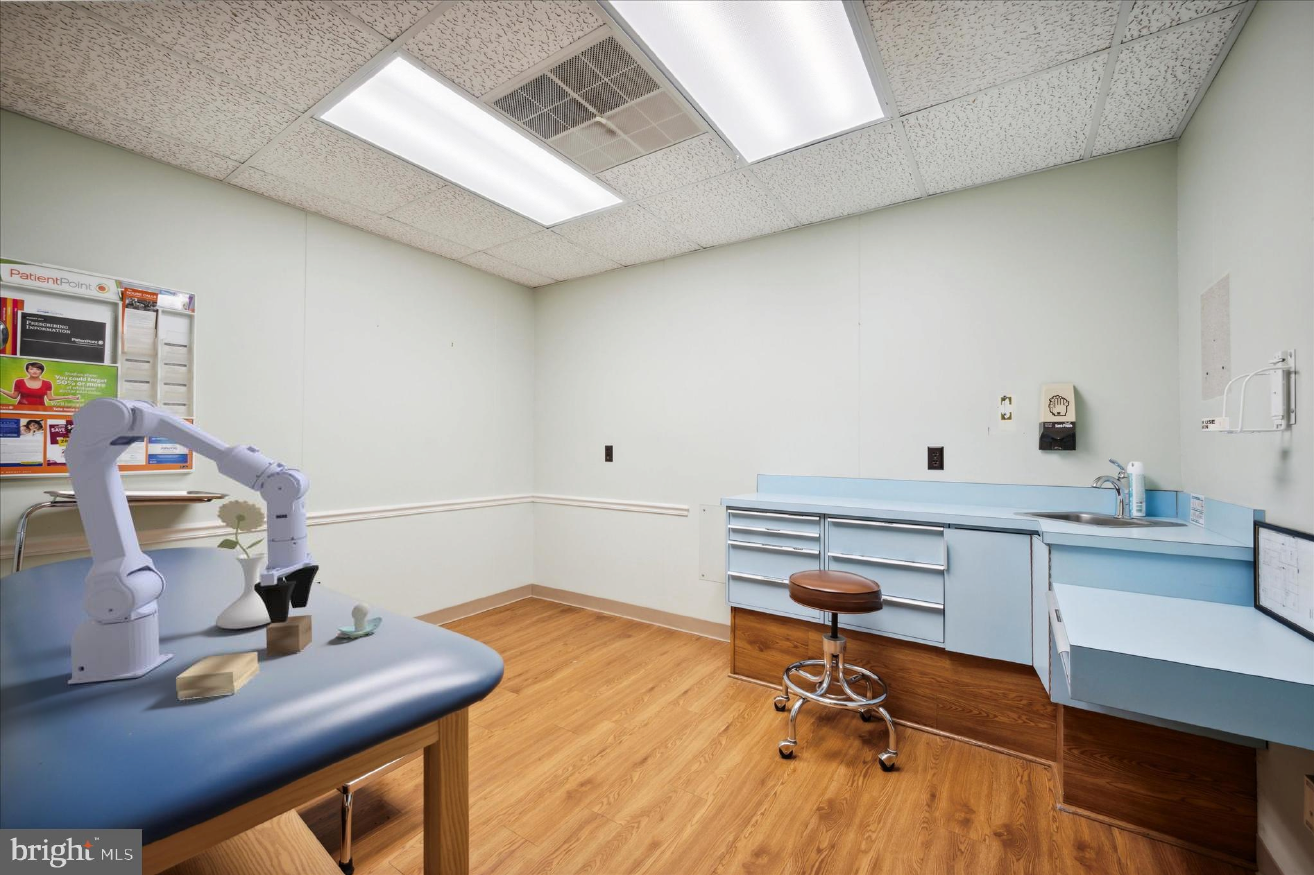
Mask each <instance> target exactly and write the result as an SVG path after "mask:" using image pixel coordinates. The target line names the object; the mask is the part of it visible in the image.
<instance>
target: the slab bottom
mask: <svg viewBox="0 0 1314 875" xmlns="http://www.w3.org/2000/svg"><path fill="white" fill-rule="evenodd" d="M258 673H259V674H260V664H257V665H256V666H255V667H254V668H253V669H252V670H250V671H249V672H248V673H247V674H246V675H245V676H243V677H242V678H241V679H240V680H239V681H237V682H236V683H235V684H234V685H229V686H221V687H212V688H203V689H194V690H185V691H177V700H178V699H183V698H185V699H186V698H193V697H206V696H207V697H208V696H209V697H210V696H214V695H221V694H226V693H227V694H228V693H235V692H237V690H239V689H240V688H241V687H242V686H243V685H244V684H246V683H247V682H248V681H249V680H250V679H252V678H253V677H254V676H255V675H256V674H258ZM259 674H258V675H259ZM255 677H256V676H255ZM255 677H254V678H255ZM254 678H253V679H254ZM253 679H252V680H253ZM247 684H248V683H247ZM247 684H246V685H247ZM239 691H240V690H239ZM237 693H238V692H237ZM210 698H211V697H210Z"/></svg>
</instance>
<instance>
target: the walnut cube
mask: <svg viewBox="0 0 1314 875" xmlns="http://www.w3.org/2000/svg"><path fill="white" fill-rule="evenodd" d="M312 627H313V626H312V614H308V615H306V614H305V615H293V616H292V615H291V616H288V618H287V621H286V622H283V623H270V624H269V625H268V626H266V627H265V635H266V636H265V637H266V657H271V656H272V657H273V656H280V654H281V656H282V654H283V655H290V654H291V653H294V654H298V653H297V652H300V653H301V652H302V651H303V650H305V649H306V648H307V647H306V646H307V645H308V644H309V643H310V644H311V643H312V642H313V631H312V630H313V628H312ZM310 644H309V645H310ZM309 645H308V646H309ZM305 647H306V648H305ZM301 650H302V651H301Z"/></svg>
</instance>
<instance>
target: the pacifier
mask: <svg viewBox="0 0 1314 875" xmlns="http://www.w3.org/2000/svg"><path fill="white" fill-rule="evenodd" d="M369 612H370V606H369V605H368V603H365V602H361V603H360V602H359V603H358V604H357V605H355V606H354V608H353V609H352V611H351V617H352V619H353V620H354V622H353V623H354V625H349V626H344V627H343V626H342V627H339V628H338V633H337V637H338V638H345V639H346V638H349V637H350V638H349V639H356V638H355V637H358V638H360V637H359V636H362V637H364V636H363V635H365V634H368V633H370V632H371V633H372V631H374V630H377V629H379V627H380V626H381V625H382V622H383V619H382V617H379V616H378V617H374V618H371V619H368V614H369ZM367 619H368V620H367ZM371 633H370V634H371ZM368 635H369V634H368ZM365 636H366V635H365Z"/></svg>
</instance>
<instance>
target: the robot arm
mask: <svg viewBox="0 0 1314 875" xmlns="http://www.w3.org/2000/svg"><path fill="white" fill-rule="evenodd" d="M71 419H72V423H73V426H72V430H71V431H70V433H69V434H70V435H69V438H68V440H67V443H66V445H65V448H64V452H63V455H64V456H63V457H64V461H65V464H66V469H67V471H68V475H69V478H70V482H71V486H72V489H73V493H74V497H75V500H76V504H77V508H78V510H79V515H80V518H81V522H82V527H83V529H84V533H85V537H86V540H87V544H88V547H89V551H90V553H91V554H90V555H91V559H92V561H93V564H92V566H90V567H91V568H90V570H89V571H88V573H87V575H86V576H85V579H84V583H85V587H86V590H85V595H84V597H83V602H82V608H83V610H84V612H85V614H86V615H87V616H88V617H90V618H88V619H86V620H83V621H82V622H81V623H80V624H78V626H77V627H76V628H75V630H74V631H73V634H72V635H71V636H72V637H71V641H70V651H71V655H70V656H71V679H69V680H67V684H68V685H71V684H72V685H73V684H82V683H93V682H104V681H113V680H114V681H115V680H123V679H133V678H140V677H142V676H143V675H145V674H147V673H149V672H151V671H152V670H154V669H155V668H157V667H158V666H160V665H162V664H163V663H165V662H167V661H168V660H170V659H171V658H173V657H174V654H173V653H166V654H160V636H159V635H160V634H159V631H160V630H159V606H158V603H157V602H158V601H157V600H158V599H159V598H160V597H161V596H162V595H163V594H164V592H165V589H166V586H167V584H166V580H165V578H164V576H163V575H162V573H160V571H158V569H156V567H155V565H154V562H153V559H152V558H151V557H150V556H148V555H147V554H145V553H144V552H142V550H141V547H140V544H139V540H138V535H137V533H136V530H135V526H134V521H133V517H132V514H131V510H130V507H129V503H128V500H127V495H126V492H125V489H124V485H123V481H122V477H121V473H120V470H119V466H118V462H117V459H118V458H119V457H120V456H122V454H124V453H125V451H126V450H128V449H129V447H131V446H132V445H133V444H135V443H137V442H139V441H141V440H143V439H145V438H147V437H149V438H162V439H166V440H167V441H170V442H172V443H174V444H176V445H179V446H180V447H183V448H185V449H187V450H190V451H192V452H194V453H196V454H198V455H201V456H202V457H205V458H207V459H209V460H211V461H213V462H214V463H216V464H215V466H216V468H217V470H218V471H217V472H218V473H220V474H221V475H223V476H225V477H227V478H229V479H232V480H233V481H235V482H237V483H239V484H240V485H243V486H244V487H247V488H248V489H250V490H253V491H255V492H259V494H260V496H261V498H262V500H264V501H265V502H266V535H267V537H266V540H267V542H266V543H267V546H266V547H267V565H266V567H265V569H264V571H263V572H262V573H259V578H260V579H259V580H260V581H259V582H258V583H256V584H255V585H254V590H255V591H256V593H257V594H258V595H259V596H260V597H261V599H262V601H263V602H264V604H265V607H266V609H267V612H268V615H269V618H270V620H271V622H270V624H272V623H283V622H286V621H287V618H288V617H289V613H290V605H291V608H292V609H301V608H306V607H307V605H308V601H309V598H310V594H311V589H312V584H313V583H314V580H315V577H316V575H317V573H318V571H319V569H320V566H319V565H318V564H316V560H315V559H313V554H312V552H311V553H310V552H309V553H308V531H307V527H308V526H307V510H306V497H305V495H306V494H307V492H308V490H309V487H310V482H309V479H308V477H307V476H306V475H305V473H303V472H301V470H300V469H298V468H292V467H291V468H286V467H287V464H286V463H285V462H283V461H279V462H277V461H275V460H273V459H271V458H269V457H268V456H266V455H264V454H262V453H260V450H261V449H260V448H259V447H257V446H255V445H249V446H247V445H245V444H238V445H233V446H231V445H229V444H227V443H225V442H223V441H222V440H221V439H218V438H216V437H215V436H213V435H212V434H210V433H208V432H207V431H204V430H203V429H202V428H199V427H198V426H197V425H195V424H192V423H191V422H189V421H187V420H185V419H184V418H182V417H180V416H179V415H177V414H175V413H174V412H172V411H170V410H168V409H165V408H162V407H157V406H156V405H155V404H153V403H151V402H149V401H146V400H142V399H124V398H123V399H122V398H115V397H111V396H101V397H96V398H93V399H90V400H88V401H87V402H85V403H84V404H83V405H82V406H81V407H80V408H78V409H77V410H76V411H74V412H73V414H71Z"/></svg>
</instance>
